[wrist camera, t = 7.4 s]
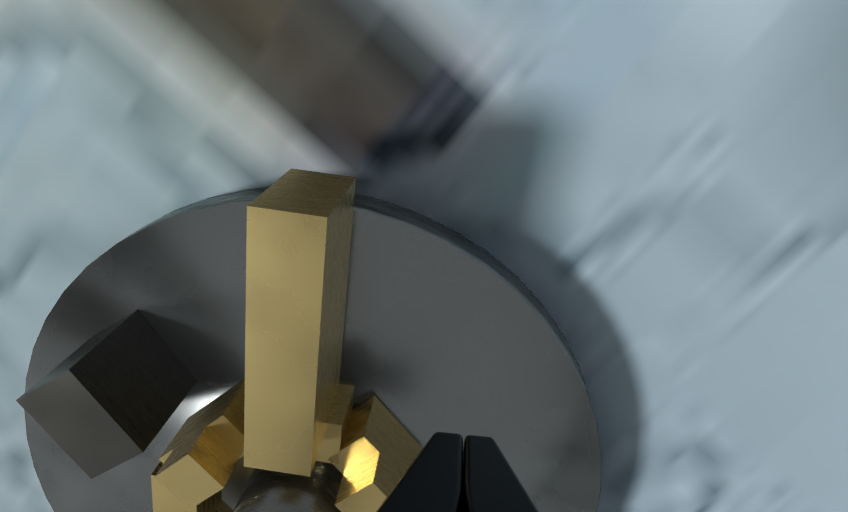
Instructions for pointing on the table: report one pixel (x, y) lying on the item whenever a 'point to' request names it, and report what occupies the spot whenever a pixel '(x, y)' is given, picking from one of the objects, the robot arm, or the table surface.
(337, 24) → the table surface
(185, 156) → the table surface
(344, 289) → the gold crown with post
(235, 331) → the grey round tray
